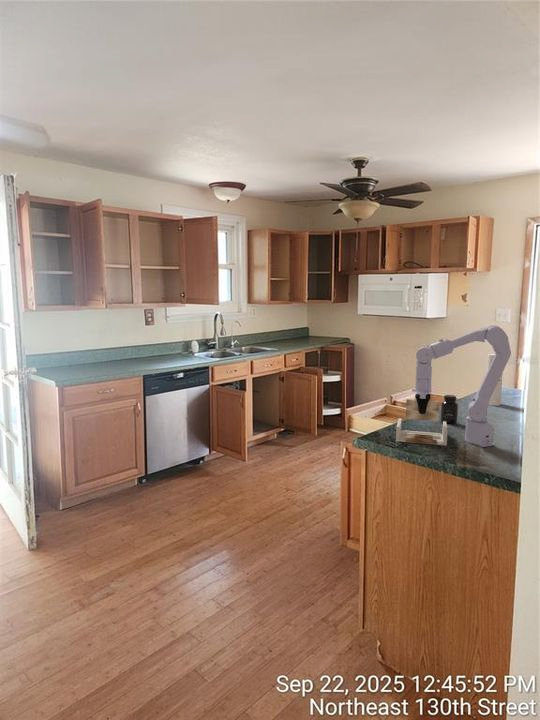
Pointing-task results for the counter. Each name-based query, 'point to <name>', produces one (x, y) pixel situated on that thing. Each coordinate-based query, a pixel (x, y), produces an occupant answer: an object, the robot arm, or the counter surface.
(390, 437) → the counter surface
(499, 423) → the counter surface
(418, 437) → the offcut stack
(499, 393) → the cylindrical container
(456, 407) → the supplement bottle
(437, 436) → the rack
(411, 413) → the tall sheet
